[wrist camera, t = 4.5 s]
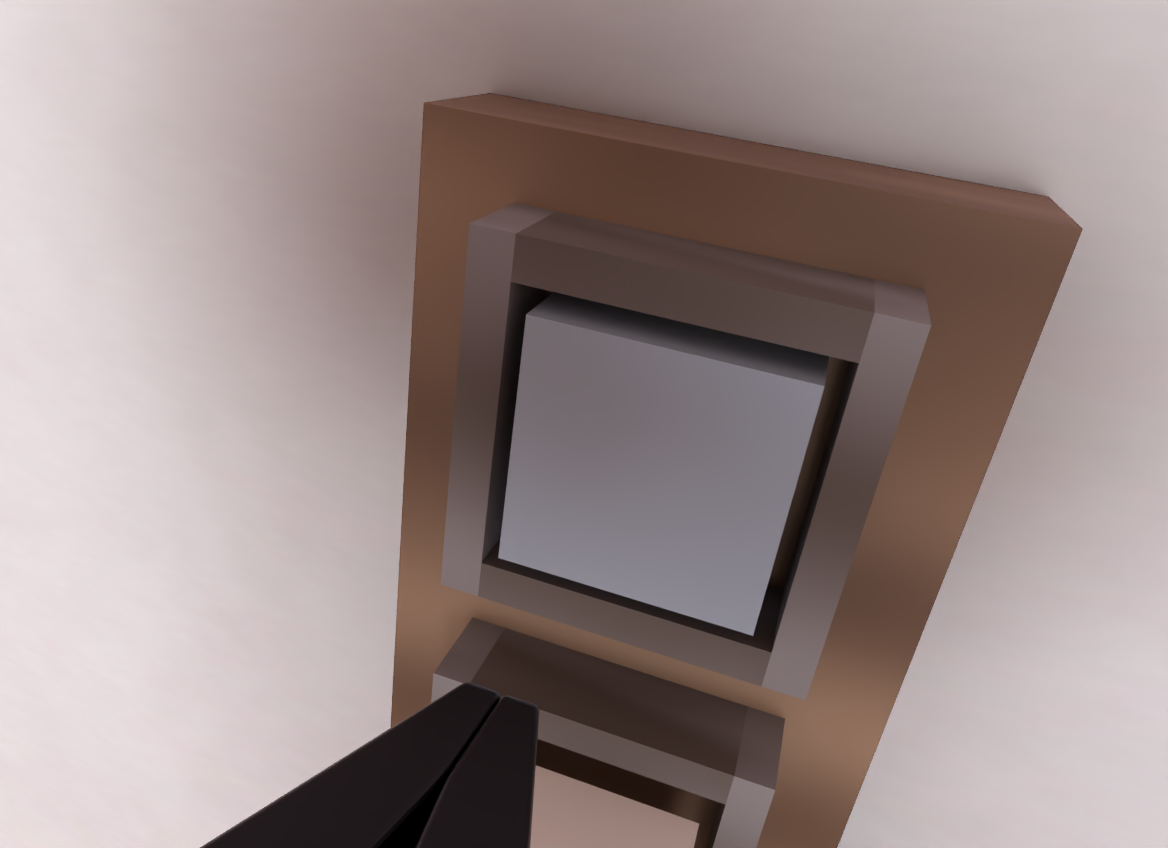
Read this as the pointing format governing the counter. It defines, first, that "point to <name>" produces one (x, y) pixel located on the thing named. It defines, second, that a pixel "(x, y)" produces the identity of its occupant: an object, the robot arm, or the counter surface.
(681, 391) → the slate key
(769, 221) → the keypad board
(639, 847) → the beige key
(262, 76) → the counter surface
